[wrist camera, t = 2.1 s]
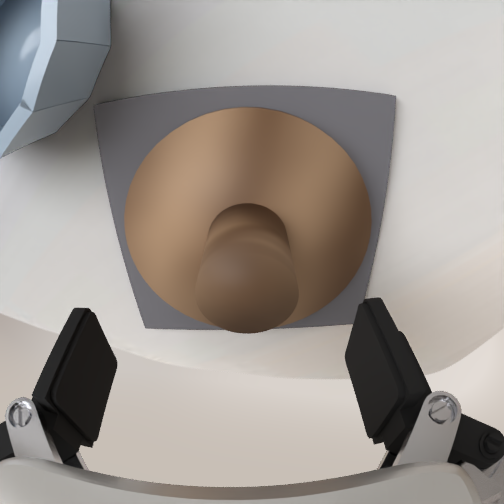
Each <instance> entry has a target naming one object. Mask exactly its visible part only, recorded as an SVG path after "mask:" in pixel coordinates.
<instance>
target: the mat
mask: <svg viewBox="0 0 504 504" xmlns="http://www.w3.org/2000/svg"><path fill="white" fill-rule="evenodd" d="M395 104H396V96H394V95H388V94H381V93H374V92H366V91H358V90H349V89H338V88H325V87H308V86H230V87H214V88H201V89H190V90H181V91H172V92H164V93H157V94H150V95H144V96H138V97H132V98H126V99H121V100H116V101H111V102H106V103H102V104H97V105H94V113H95V121H96V129H97V136H98V142H99V149H100V155H101V161H102V167H103V172H104V178H105V183H106V188H107V193H108V197H109V202H110V207H111V211H112V216H113V220H114V224H115V228H116V232H117V236H118V240H119V244H120V248H121V251H122V255H123V259H124V262H125V266H126V269H127V273H128V276H129V280H130V283H131V286H132V289H133V293H134V296H135V299H136V302H137V305H138V308H139V311H140V314H141V317H142V320H143V323H144V326H145V328H151V329H187V330H225V329H222V328H220V327H217V326H213V325H209V324H206V323H203V322H200V321H198V320H195V319H193V318H191V317H189V316H187V315H185V314H183V313H181V312H180V311H178V310H176V309H174V308H173V307H172V306H170V305H169V304H168V303H166V302H165V301H164V300H163V299H161V298H160V297H159V296H158V295H157V294H156V293H155V292H154V291H153V290H152V289H151V287H150V286H149V285H148V284H147V283H146V282H145V280H144V279H143V277H142V276H141V274H140V273H139V271H138V269H137V267H136V265H135V263H134V261H133V259H132V257H131V254H130V251H129V248H128V245H127V240H126V235H125V226H124V213H125V204H126V198H127V195H128V191H129V187H130V184H131V182H132V180H133V178H134V175H135V173H136V171H137V169H138V168H139V166H140V165H141V163H142V162H143V160H144V158H145V157H146V156H147V155H148V154H149V152H150V151H151V150H152V149H153V148H154V147H155V146H156V144H158V143H159V142H160V141H161V140H162V139H163V138H165V137H166V136H167V135H168V134H169V133H171V132H172V131H174V130H175V129H177V128H178V127H180V126H182V125H183V124H185V123H187V122H188V121H190V120H192V119H194V118H197V117H199V116H201V115H204V114H206V113H210V112H214V111H217V110H221V109H226V108H235V107H263V108H268V109H274V110H279V111H282V112H285V113H288V114H291V115H294V116H297V117H299V118H301V119H303V120H305V121H307V122H309V123H311V124H313V125H314V126H316V127H317V128H319V129H320V130H322V131H323V132H324V133H326V134H327V135H328V136H330V137H331V138H332V139H333V140H334V141H335V142H337V143H338V144H339V145H340V146H341V147H342V148H343V149H344V150H345V152H346V153H347V154H348V155H349V157H350V158H351V159H352V161H353V162H354V163H355V165H356V167H357V169H358V170H359V172H360V174H361V176H362V178H363V180H364V183H365V186H366V189H367V192H368V195H369V200H370V205H371V219H372V225H371V234H370V240H369V244H368V248H367V251H366V254H365V256H364V259H363V261H362V264H361V266H360V267H359V269H358V271H357V273H356V274H355V276H354V277H353V279H352V280H351V281H350V283H349V284H348V285H347V287H346V288H345V289H344V290H343V291H342V292H341V293H340V294H339V295H338V296H337V297H336V298H335V299H333V300H332V301H331V302H330V303H329V304H327V305H326V306H324V307H323V308H321V309H320V310H318V311H317V312H315V313H313V314H311V315H309V316H307V317H305V318H303V319H301V320H298V321H296V322H293V323H290V324H287V325H283V326H279V327H274V328H272V329H278V328H300V327H318V326H332V325H346V324H354V320H355V316H356V312H357V308H358V305H359V304H361V303H363V300H364V298H365V295H366V291H367V286H368V282H369V278H370V274H371V270H372V265H373V261H374V256H375V251H376V246H377V242H378V236H379V231H380V226H381V220H382V215H383V209H384V203H385V197H386V190H387V183H388V176H389V168H390V160H391V151H392V142H393V131H394V119H395Z"/></svg>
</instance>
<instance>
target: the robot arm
mask: <svg viewBox="0 0 504 504" xmlns="http://www.w3.org/2000/svg"><path fill="white" fill-rule="evenodd" d="M345 361H346V365H347V368H348V371H349V374H350V378H351V381H352V384H353V387H354V391H355V394H356V398H357V401H358V404H359V408H360V412H361V415H362V419H363V422H364V426H365V429H366V433H367V436H368V437H369V438H372V439H373V442H374V444H378V443H382V442H384V444H385V448H386V450H387V451H386V453H385V455H384V457H383V459H382V461H381V463H380V464H379V466H378V468H377V470H373V471H369V472H364V473H360V474H355V475H350V476H344V477H339V478H333V479H326V480H320V481H313V482H306V483H297V484H288V485H276V486H260V487H198V486H183V485H171V484H161V483H153V482H146V481H138V480H133V479H127V478H121V477H115V476H110V475H106V474H101V473H97V472H92V471H89V470H88V468H87V466H86V464H85V462H84V460H83V458H82V456H81V454H80V453H79V447H80V445H83V446H87V447H91V448H92V446H93V442H94V441H96V440H97V438H98V435H99V431H100V427H101V423H102V419H103V415H104V412H105V408H106V404H107V400H108V397H109V393H110V390H111V386H112V383H113V379H114V376H115V373H116V369H117V360H116V357H115V356H114V353H113V351H112V350H111V347H110V345H109V343H108V341H107V339H106V337H105V335H104V333H103V330H102V328H101V326H100V324H99V322H98V319H97V317H96V315H95V313H94V312H92V311H91V310H90V309H89V308H74V309H73V310H72V312H71V314H70V316H69V318H68V320H67V322H66V324H65V325H64V327H63V329H62V331H61V333H60V335H59V337H58V339H57V341H56V343H55V345H54V347H53V349H52V351H51V354H50V355H49V358H48V360H47V362H46V364H45V366H44V368H43V371H42V373H41V375H40V377H39V380H38V382H37V384H36V386H35V389H34V391H33V394H32V396H33V398H32V400H30V399H28V398H25V397H21V398H18V399H15V400H14V401H12V402H11V404H10V405H9V406H8V408H7V410H6V414H5V419H6V421H4V422H3V423H1V424H0V504H504V436H503V434H502V433H501V432H500V431H499V430H497V429H495V428H493V427H491V426H489V425H486V424H484V423H482V422H479V421H477V420H475V419H473V418H471V417H468V416H466V415H464V414H462V413H461V406H460V403H459V402H458V400H457V399H456V398H455V397H454V396H453V395H452V394H450V393H447V392H444V391H436V392H434V393H432V391H431V389H430V387H429V385H428V382H427V380H426V378H425V376H424V374H423V372H422V370H421V367H420V365H419V363H418V361H417V359H416V357H415V355H414V353H413V351H412V349H411V347H410V345H409V343H408V341H407V339H406V337H405V335H404V334H403V333H402V332H401V331H398V329H397V327H396V325H395V323H394V321H393V319H392V317H391V316H390V314H389V312H388V310H387V308H386V306H385V304H384V302H383V301H382V299H381V298H370V299H364V300H363V303H361V304H359V305H358V308H357V312H356V316H355V320H354V324H353V328H352V331H351V335H350V338H349V342H348V345H347V349H346V352H345Z"/></svg>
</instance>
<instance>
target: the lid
mask: <svg viewBox="0 0 504 504" xmlns="http://www.w3.org/2000/svg"><path fill="white" fill-rule="evenodd" d="M371 225H372V219H371V205H370V200H369V195H368V192H367V189H366V186H365V183H364V180H363V178H362V176H361V174H360V172H359V170H358V169H357V167H356V165H355V163H354V162H353V161H352V159H351V158H350V157H349V155H348V154H347V153H346V152H345V150H344V149H343V148H342V147H341V146H340V145H339V144H338V143H337V142H335V141H334V140H333V139H332V138H331V137H330V136H328V135H327V134H326V133H324V132H323V131H322V130H320V129H319V128H317V127H316V126H314V125H313V124H311V123H309V122H307V121H305V120H303V119H301V118H299V117H297V116H294V115H291V114H288V113H285V112H282V111H279V110H274V109H268V108H263V107H235V108H226V109H221V110H217V111H214V112H210V113H206V114H204V115H201V116H199V117H197V118H194V119H192V120H190V121H188V122H187V123H185V124H183V125H182V126H180V127H178V128H177V129H175V130H174V131H172V132H171V133H169V134H168V135H167V136H166V137H165V138H163V139H162V140H161V141H160V142H159V143H158V144H156V146H155V147H154V148H153V149H152V150H151V151H150V152H149V154H148V155H147V156H146V157H145V158H144V160H143V162H142V163H141V165H140V166H139V168H138V169H137V171H136V173H135V175H134V178H133V180H132V182H131V184H130V187H129V191H128V195H127V198H126V204H125V213H124V226H125V235H126V240H127V245H128V248H129V251H130V254H131V257H132V259H133V261H134V263H135V265H136V267H137V269H138V271H139V273H140V274H141V276H142V277H143V279H144V280H145V282H146V283H147V284H148V285H149V286H150V287H151V289H152V290H153V291H154V292H155V293H156V294H157V295H158V296H159V297H160V298H161V299H163V300H164V301H165V302H166V303H168V304H169V305H170V306H172V307H173V308H174V309H176V310H178V311H180V312H181V313H183V314H185V315H187V316H189V317H191V318H193V319H195V320H198V321H200V322H203V323H206V324H209V325H213V326H217V327H220V328H222V329H225V330H228V331H231V332H236V333H258V332H263V331H267V330H270V329H272V328H274V327H279V326H283V325H287V324H290V323H293V322H296V321H298V320H301V319H303V318H305V317H307V316H309V315H311V314H313V313H315V312H317V311H318V310H320V309H321V308H323V307H324V306H326V305H327V304H329V303H330V302H331V301H332V300H333V299H335V298H336V297H337V296H338V295H339V294H340V293H341V292H342V291H343V290H344V289H345V288H346V287H347V285H348V284H349V283H350V281H351V280H352V279H353V277H354V276H355V274H356V273H357V271H358V269H359V267H360V266H361V264H362V261H363V259H364V256H365V254H366V251H367V248H368V244H369V240H370V234H371Z"/></svg>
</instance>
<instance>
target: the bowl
mask: <svg viewBox="0 0 504 504" xmlns="http://www.w3.org/2000/svg"><path fill="white" fill-rule="evenodd" d="M110 46H111V32H110V0H0V158H2V157H4V156H6V155H8V154H10V153H12V152H14V151H16V150H18V149H20V148H22V147H24V146H26V145H28V144H31V143H33V142H35V141H37V140H39V139H42V138H44V137H46V136H49V135H51V134H53V133H56V132H57V131H58V130H59V129H60V127H61V126H62V125H63V124H64V123H65V122H66V121H67V120H68V119H69V118H70V117H71V116H72V115H73V114H74V113H75V112H76V111H77V110H78V109H79V108H80V107H81V106H82V105H83V104H84V103H85V102H86V101H87V100H88V99H89V97H90V95H91V92H92V90H93V87H94V85H95V82H96V80H97V77H98V75H99V72H100V70H101V67H102V65H103V63H104V60H105V58H106V56H107V54H108V52H109V49H110Z"/></svg>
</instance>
